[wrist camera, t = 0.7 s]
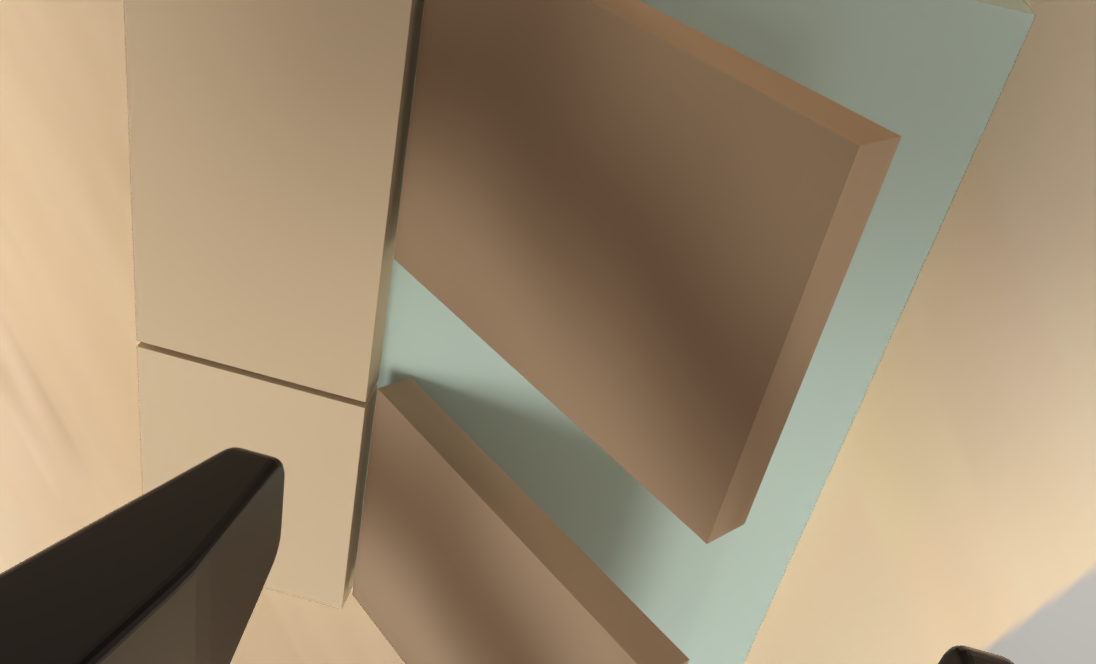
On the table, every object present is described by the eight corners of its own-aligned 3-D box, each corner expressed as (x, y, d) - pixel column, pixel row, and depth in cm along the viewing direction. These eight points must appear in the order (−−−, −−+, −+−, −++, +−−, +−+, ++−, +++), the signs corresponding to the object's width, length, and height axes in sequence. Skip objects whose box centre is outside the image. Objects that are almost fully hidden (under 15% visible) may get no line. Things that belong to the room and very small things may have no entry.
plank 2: (607, 863, 20) (575, 886, 19) (382, 581, 24) (352, 593, 24) (689, 659, 16) (653, 681, 16) (411, 378, 21) (377, 388, 21)
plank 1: (744, 523, 15) (707, 544, 14) (429, 250, 19) (393, 258, 19) (902, 136, 12) (860, 145, 11) (478, -84, 16) (435, -83, 16)
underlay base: (732, 656, 25) (730, 718, 24) (181, 503, 26) (144, 554, 24) (1022, -2, 16) (1047, 30, 15) (174, -207, 17) (116, -196, 16)
